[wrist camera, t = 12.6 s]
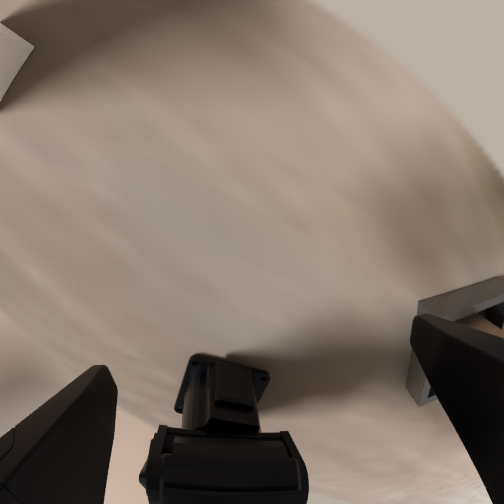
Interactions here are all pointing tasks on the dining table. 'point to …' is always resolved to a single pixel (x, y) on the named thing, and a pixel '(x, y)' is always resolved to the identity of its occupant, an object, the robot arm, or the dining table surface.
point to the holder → (453, 308)
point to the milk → (11, 56)
